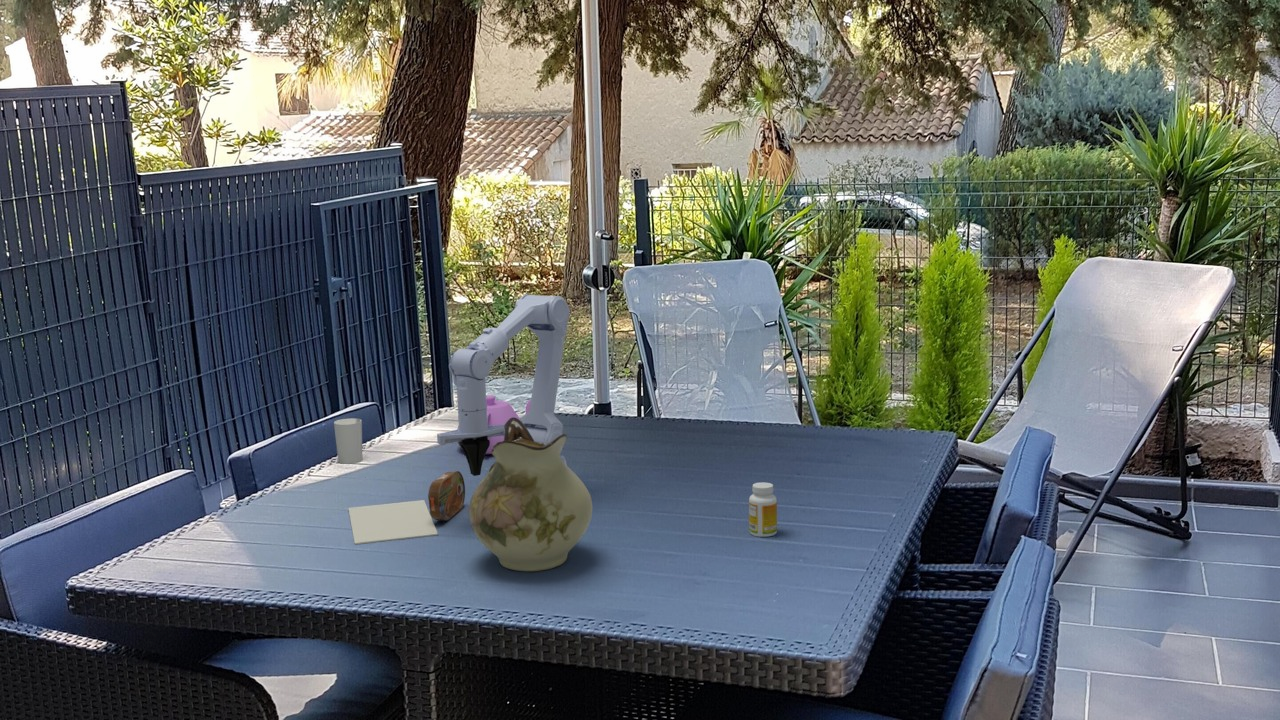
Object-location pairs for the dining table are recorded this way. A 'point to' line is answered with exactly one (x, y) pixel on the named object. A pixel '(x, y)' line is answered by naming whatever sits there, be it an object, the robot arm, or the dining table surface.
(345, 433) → the drinking glass
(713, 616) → the dining table surface
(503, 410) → the teapot
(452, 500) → the tin
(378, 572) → the dining table surface
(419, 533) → the mat
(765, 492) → the supplement bottle
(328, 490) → the dining table surface
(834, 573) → the dining table surface
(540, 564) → the pitcher
